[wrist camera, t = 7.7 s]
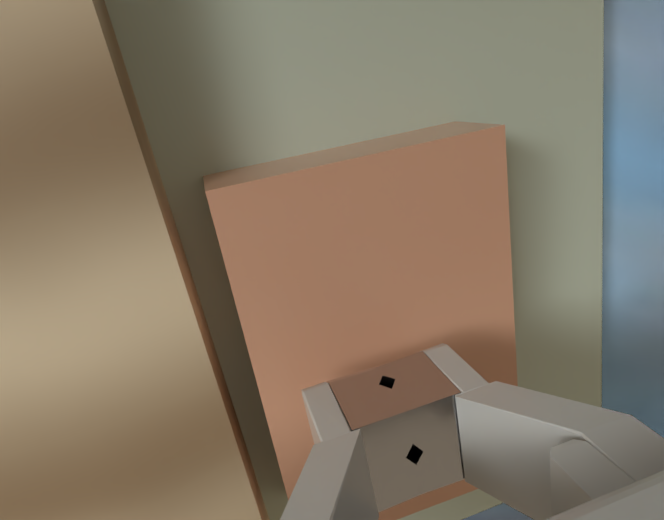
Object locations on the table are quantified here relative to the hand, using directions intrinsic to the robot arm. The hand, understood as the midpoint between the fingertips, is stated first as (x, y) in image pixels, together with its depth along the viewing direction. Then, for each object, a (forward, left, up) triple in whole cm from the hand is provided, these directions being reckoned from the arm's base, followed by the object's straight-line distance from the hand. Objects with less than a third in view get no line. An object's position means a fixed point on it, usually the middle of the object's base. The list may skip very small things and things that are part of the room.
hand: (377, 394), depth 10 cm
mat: (0, +2, -4) cm, 4 cm away
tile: (0, +1, -3) cm, 3 cm away
